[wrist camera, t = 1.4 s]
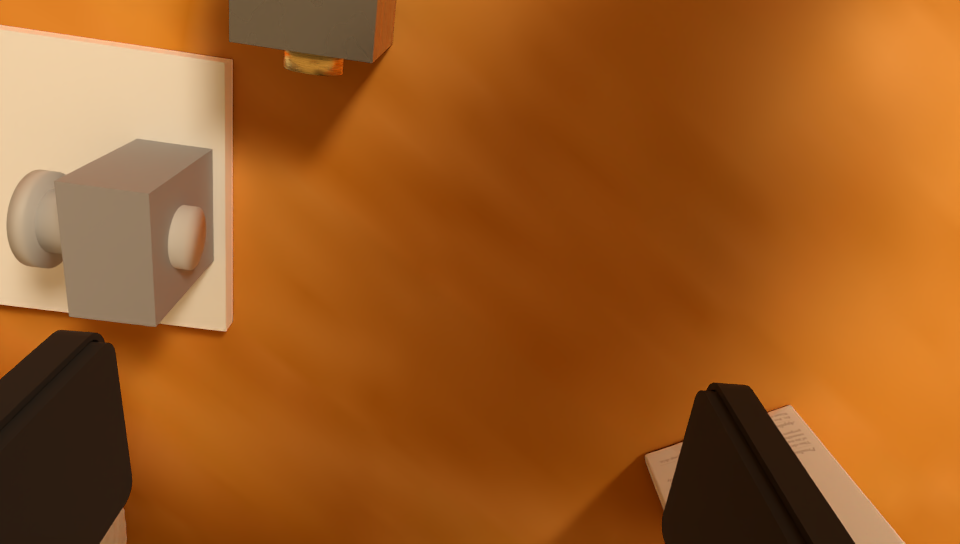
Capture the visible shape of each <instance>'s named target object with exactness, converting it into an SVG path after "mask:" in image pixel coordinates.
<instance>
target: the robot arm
mask: <svg viewBox="0 0 960 544" xmlns="http://www.w3.org/2000/svg"><path fill="white" fill-rule="evenodd" d="M131 487H132V473H131V465H130V458H129V450H128V443H127V436H126V428H125V421H124V413H123V406H122V398H121V391H120V383H119V376H118V368H117V361H116V353H115V349H114V347H113V345H112V344H110V343H105V342H104V339H103V337H102V336H101V335H100V334H98V333H92V332H79V331H67V330H58V331H56V332H54V333H53V334H52V335H51V336H49V337H48V338H47V339H46V340H45V341H44V342H43V343H41V344H40V345H39V346H38V347H37V348H36V349H35V350H33V351H32V352H31V353H30V354H29V355H28V356H26V357H25V358H24V359H23V360H22V361H21V362H20V363H18V364H17V365H16V366H15V367H14V368H13V369H12V370H10V371H9V372H8V373H7V374H6V375H5V376H4V377H2V378H1V379H0V544H100V542H101V541H102V539H103V538H104V536H105V535H106V533H107V532H108V530H109V528H110V527H111V525H112V524H113V522H114V521H115V519H116V518H117V516H118V514H119V513H120V511H121V510H122V508H123V507H124V505H125V504H126V502H127V500H128V498H129V495H130V491H131ZM662 532H663V538H664V541H665V544H855V542H854V541H853V539H852V538H851V536H850V535H849V533H848V532H847V530H846V529H845V527H844V526H843V524H842V523H841V521H840V520H839V518H838V517H837V515H836V514H835V512H834V511H833V509H832V508H831V506H830V505H829V503H828V502H827V500H826V499H825V497H824V496H823V494H822V493H821V492H820V490H819V489H818V487H817V486H816V484H815V483H814V481H813V480H812V478H811V477H810V475H809V474H808V472H807V471H806V469H805V468H804V466H803V465H802V463H801V462H800V460H799V459H798V457H797V456H796V454H795V453H794V451H793V450H792V448H791V447H790V445H789V444H788V442H787V441H786V439H785V438H784V436H783V435H782V434H781V432H780V431H779V429H778V428H777V426H776V425H775V423H774V422H773V420H772V419H771V417H770V416H769V414H768V413H767V411H766V410H765V408H764V407H763V405H762V404H761V402H760V401H759V399H758V398H757V396H756V395H755V393H754V392H753V390H752V389H751V388H750V387H749V386H746V385H737V384H724V383H712V384H710V385H709V387H708V388H707V390H706V391H702V390H701V391H699V392H698V393H697V395H696V397H695V400H694V404H693V407H692V411H691V415H690V418H689V422H688V425H687V429H686V433H685V436H684V440H683V444H682V447H681V451H680V454H679V458H678V462H677V465H676V469H675V473H674V476H673V480H672V483H671V487H670V491H669V494H668V498H667V501H666V505H665V509H664V512H663V517H662Z"/></svg>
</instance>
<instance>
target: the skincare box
mask: <svg viewBox="0 0 960 544" xmlns="http://www.w3.org/2000/svg"><path fill="white" fill-rule="evenodd" d="M768 414H769V416H770V417H771V419H772V420H773V422H774V423H775V425H776V426H777V428H778V429H779V431H780V432H781V434H782V435H783V436H784V438H785V439H786V441H787V442H788V444H789V445H790V447H791V448H792V450H793V451H794V453H795V454H796V456H797V457H798V459H799V460H800V462H801V463H802V465H803V466H804V468H805V469H806V471H807V472H808V474H809V475H810V477H811V478H812V480H813V481H814V483H815V484H816V486H817V487H818V489H819V490H820V492H821V493H822V494H823V496H824V497H825V499H826V500H827V502H828V503H829V505H830V506H831V508H832V509H833V511H834V512H835V514H836V515H837V517H838V518H839V520H840V521H841V523H842V524H843V526H844V527H845V529H846V530H847V532H848V533H849V535H850V536H851V538H852V539H853V541H854V542H855V544H905V543H904V542H903V540H902V539H901V538H900V537H899V535H898V534H897V533H896V532H895V531H894V529H893V528H892V527H891V526H890V524H889V523H888V522H887V521H886V520H885V518H884V517H883V516H882V515H881V514H880V512H879V511H878V510H877V509H876V507H875V506H874V505H873V504H872V503H871V502H870V500H869V499H868V498H867V497H866V496H865V494H864V493H863V492H862V491H861V489H860V488H859V487H858V486H857V485H856V483H855V482H854V481H853V480H852V479H851V477H850V476H849V475H848V474H847V473H846V471H845V470H844V469H843V468H842V466H841V465H840V464H839V463H838V462H837V460H836V459H835V458H834V457H833V456H832V454H831V453H830V452H829V451H828V450H827V448H826V447H825V446H824V445H823V444H822V442H821V441H820V440H819V439H818V437H817V436H816V435H815V434H814V433H813V431H812V430H811V429H810V428H809V426H808V425H807V424H806V423H805V422H804V420H803V419H802V418H801V417H800V416H799V414H798V413H797V412H796V411H795V410H794V408H793V407H792V406H791V405H788V406H785V407H782V408H779V409H776V410H773V411H770V412H768ZM682 444H683V442H681V443H678V444H675V445H673V446H670V447H667V448H664V449H661V450H658V451H655V452H651V453H648V454H646V455H645V462H646V465H647V468H648V470H649V473H650V476H651V478H652V481H653V483H654V486H655V489H656V491H657V494H658V497H659V499H660V502H661V505H662V507H663V510H664V509H665V505H666V501H667V498H668V494H669V491H670V487H671V483H672V480H673V476H674V473H675V469H676V465H677V462H678V458H679V454H680V451H681V447H682Z"/></svg>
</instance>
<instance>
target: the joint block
mask: <svg viewBox="0 0 960 544" xmlns="http://www.w3.org/2000/svg"><path fill="white" fill-rule="evenodd" d="M395 8H396V0H229V42H234V43H241V44H248V45H254V46H261V47H268V48H274V49H281V50H284V68H286V69H288V70H291V71H295V72H299V73H305V74H312V75H322V76H337V75H342V74H343V61H344V59H347V60H354V61H361V62H367V63H373V62H374V61H375V60H376V59H377V58H378V57H379V56H381V55H382V54H383V53H384V52H385V51H386V50H387V49H388V48H389V47H390V46H391V45H392V41H393V30H394V19H395Z"/></svg>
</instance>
